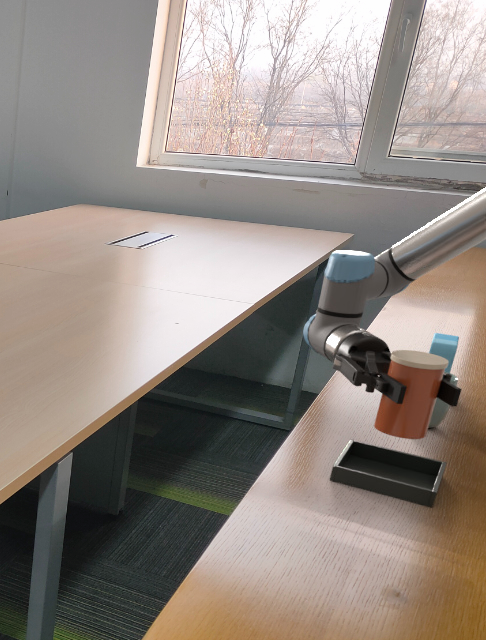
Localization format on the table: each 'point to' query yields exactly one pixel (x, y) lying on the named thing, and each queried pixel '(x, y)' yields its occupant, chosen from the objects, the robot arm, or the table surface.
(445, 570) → the table surface
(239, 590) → the table surface
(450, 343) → the blue upright block
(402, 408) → the orange lidded canister
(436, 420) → the cup
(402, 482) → the tray
